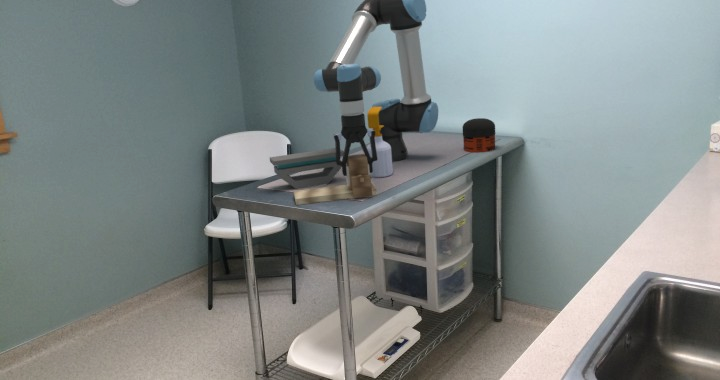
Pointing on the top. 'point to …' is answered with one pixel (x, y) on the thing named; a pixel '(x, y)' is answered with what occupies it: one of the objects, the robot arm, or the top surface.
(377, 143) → the soap bottle
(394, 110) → the robot arm
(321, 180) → the grey slotted trapezoid block
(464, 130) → the oil filter
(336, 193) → the board
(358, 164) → the notched wooden block
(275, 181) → the top surface
